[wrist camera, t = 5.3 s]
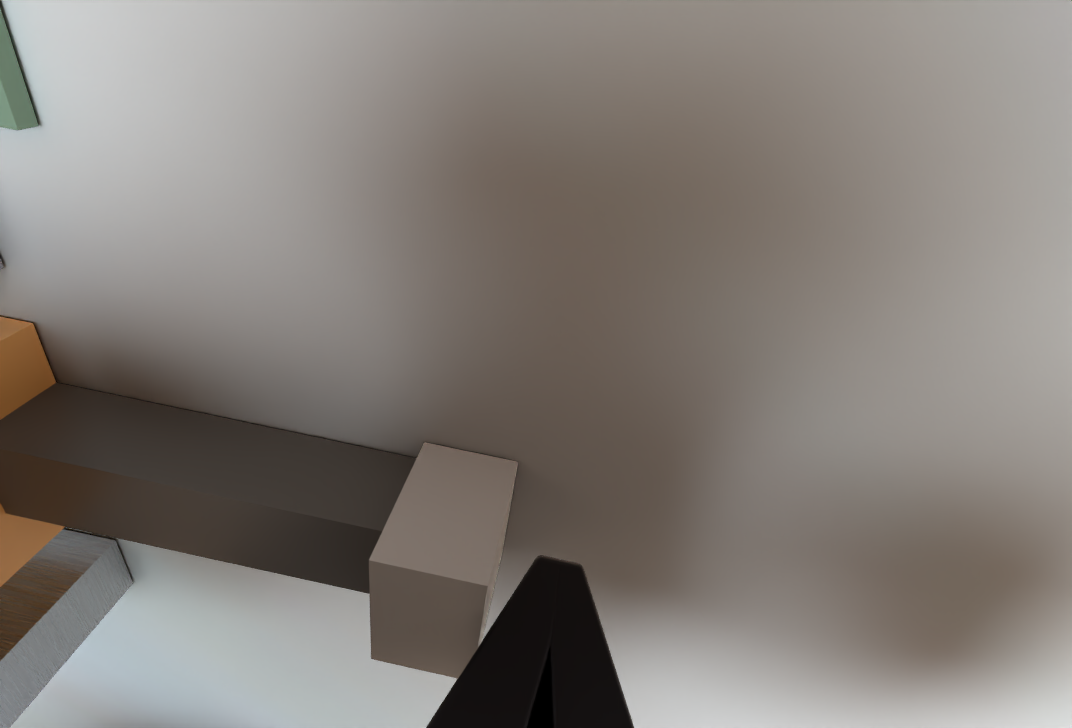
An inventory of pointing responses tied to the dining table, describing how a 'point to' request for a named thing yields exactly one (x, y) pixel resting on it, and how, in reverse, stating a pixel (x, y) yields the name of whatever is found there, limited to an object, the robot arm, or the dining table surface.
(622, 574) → the dining table surface
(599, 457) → the dining table surface
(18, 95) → the pad
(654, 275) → the dining table surface
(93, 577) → the pair of grey bars
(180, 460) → the plug
